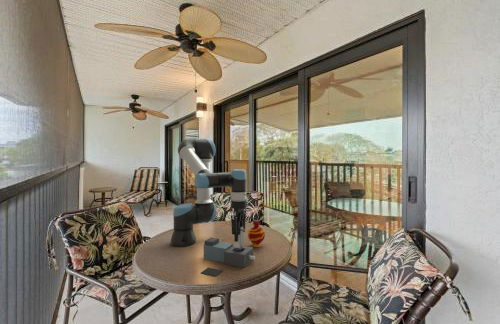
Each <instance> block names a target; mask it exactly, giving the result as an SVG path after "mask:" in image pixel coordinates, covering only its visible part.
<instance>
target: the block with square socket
mask: <svg viewBox="0 0 500 324" xmlns="http://www.w3.org/2000/svg"><path fill="white" fill-rule="evenodd" d="M203 242H204V244H203V259H206V260H209V261H216V262H221V263H223V264H224V265H228V266H234V267H238V268H239V267H240V268H246V267H247V266H248V265H249V264H250V263H251V262H252V261H255V259H256V256H255V255H254V247H253V246H244V245H243V251H242V252H237V251H235V247H234V243H230V242H226V241H225V242H223V241H220V238H219V237H212V236H211V237H209V238H207V239H206V240H204V241H203Z"/></svg>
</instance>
